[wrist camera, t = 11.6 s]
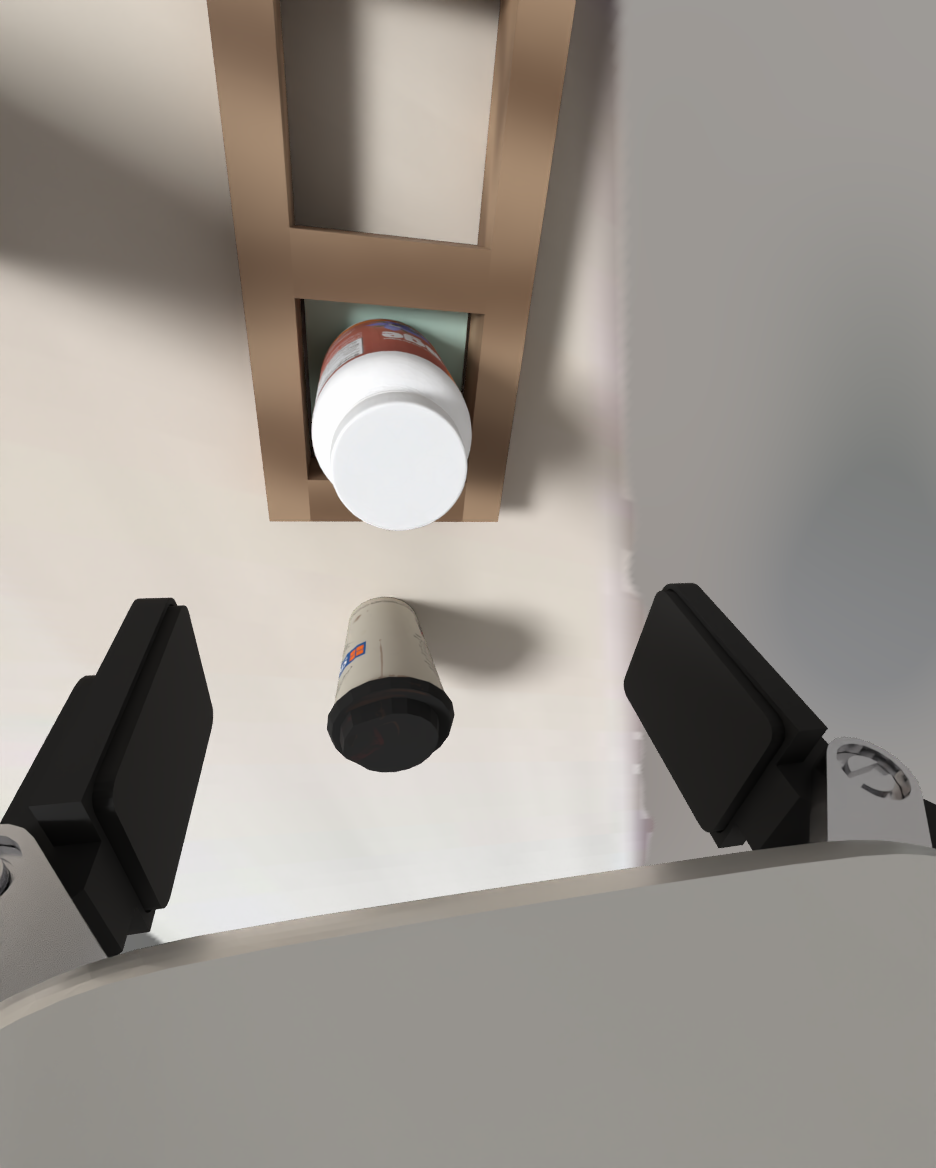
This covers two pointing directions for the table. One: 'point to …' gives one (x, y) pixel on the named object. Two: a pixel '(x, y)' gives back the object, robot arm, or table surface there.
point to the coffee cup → (388, 691)
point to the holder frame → (386, 253)
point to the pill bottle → (390, 426)
